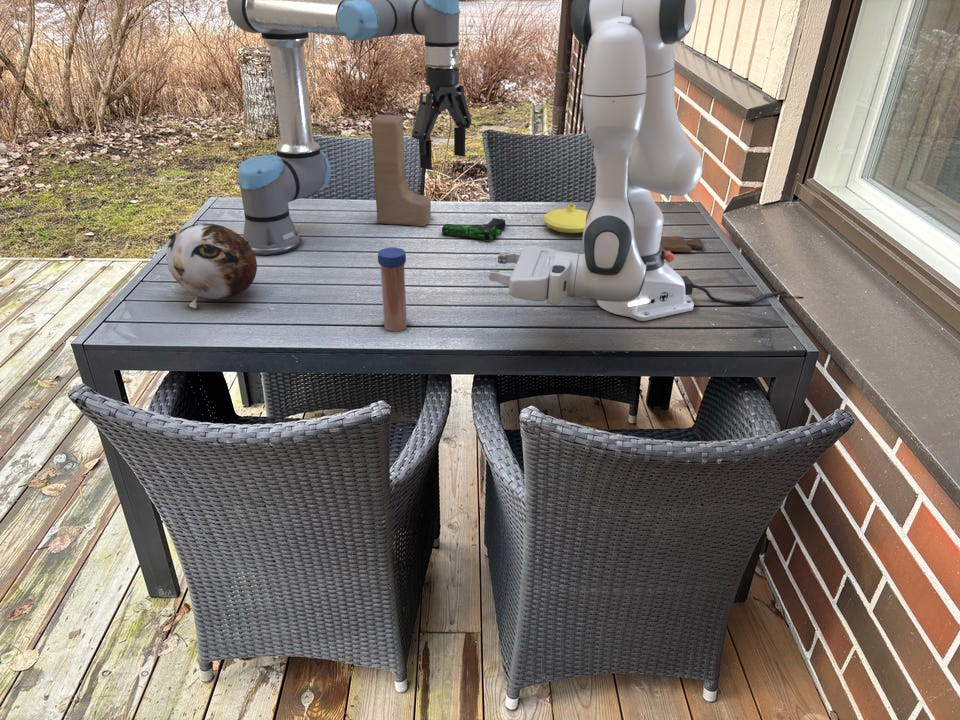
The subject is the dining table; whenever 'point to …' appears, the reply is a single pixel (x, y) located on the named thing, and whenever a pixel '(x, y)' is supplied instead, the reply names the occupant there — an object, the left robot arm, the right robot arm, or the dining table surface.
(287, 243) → the left robot arm
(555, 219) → the yellow knobbed disc
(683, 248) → the wooden paddle board
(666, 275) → the right robot arm
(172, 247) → the brown and white balloon
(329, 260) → the dining table surface
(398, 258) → the lid
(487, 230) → the handgun
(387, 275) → the jar
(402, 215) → the decorative block
